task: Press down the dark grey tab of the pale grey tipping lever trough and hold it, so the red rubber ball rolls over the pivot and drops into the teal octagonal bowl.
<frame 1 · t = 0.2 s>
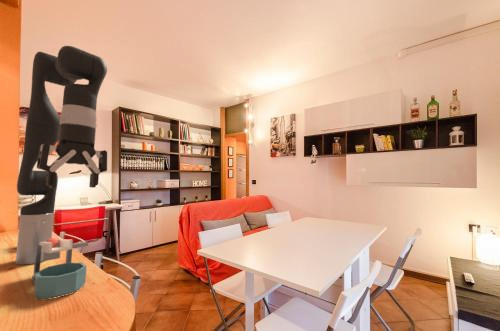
hand: (73, 187, 57), 28 cm above the table, tool pointing down, fingers open, 8 cm apart
teal octagonal bowl: (60, 289, 61), on the table
lever stand: (52, 278, 68), on the table
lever: (63, 249, 70), point 8 cm above the table, hinge at -10.0°, touching ball
ball: (51, 242, 72), point 10 cm above the table, touching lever
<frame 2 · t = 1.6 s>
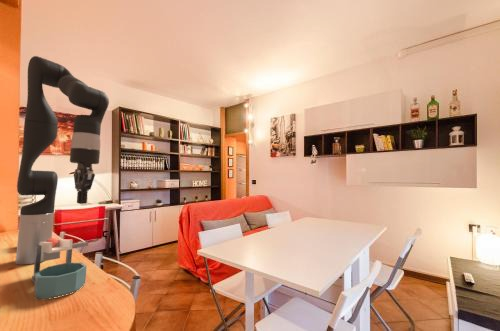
hand: (81, 203, 70), 23 cm above the table, tool pointing down, fingers closed
nothing on the table moved.
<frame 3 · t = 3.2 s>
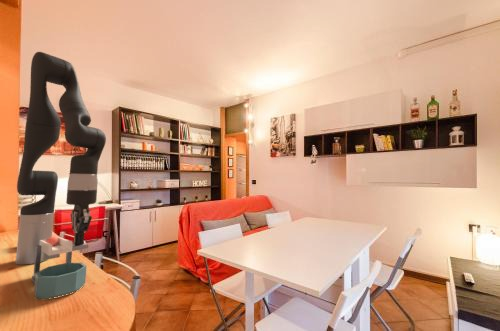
hand: (78, 244, 69), 10 cm above the table, tool pointing down, fingers closed
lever: (63, 249, 70), point 8 cm above the table, hinge at -5.1°, touching ball, gripper
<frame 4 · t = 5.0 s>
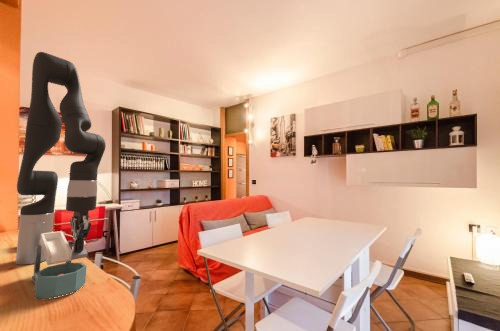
hand: (78, 251, 69), 8 cm above the table, tool pointing down, fingers closed
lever: (63, 249, 70), point 8 cm above the table, hinge at 14.5°, touching gripper
ball: (60, 279, 62), point 2 cm above the table, tilted 35°, touching teal octagonal bowl
everything else where it was.
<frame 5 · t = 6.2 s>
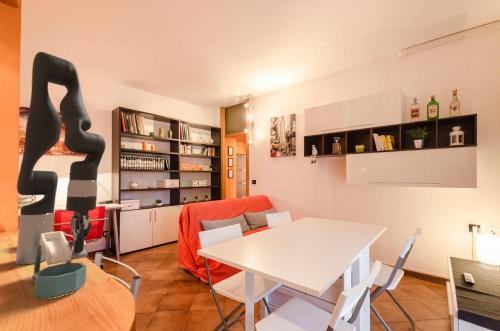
hand: (78, 251, 69), 8 cm above the table, tool pointing down, fingers closed
ball: (62, 282, 61), point 2 cm above the table, tilted 134°, touching teal octagonal bowl
everything else where it was.
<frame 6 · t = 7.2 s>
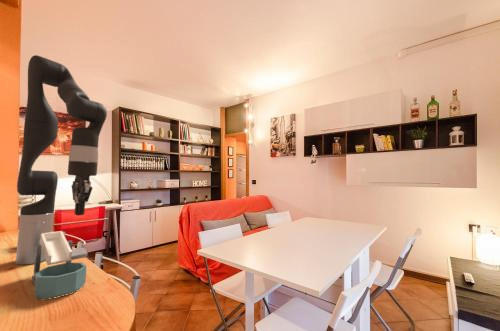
hand: (79, 214, 71), 19 cm above the table, tool pointing down, fingers closed
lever: (63, 249, 70), point 8 cm above the table, hinge at 14.5°
ball: (63, 284, 60), point 2 cm above the table, tilted 166°, touching teal octagonal bowl
everything else where it was.
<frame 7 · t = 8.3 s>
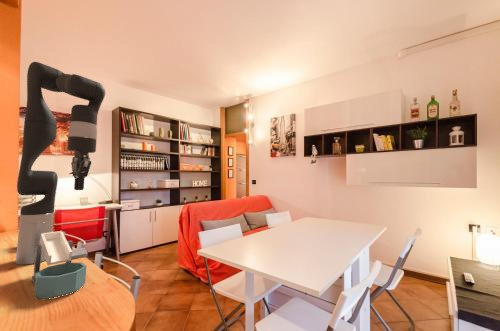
hand: (78, 189, 73), 27 cm above the table, tool pointing down, fingers closed
ball: (62, 283, 60), point 2 cm above the table, tilted 159°, touching teal octagonal bowl
everything else where it was.
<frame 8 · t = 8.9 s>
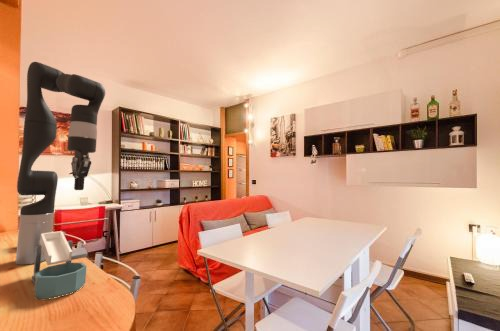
hand: (78, 189, 73), 27 cm above the table, tool pointing down, fingers closed
ball: (62, 282, 61), point 2 cm above the table, tilted 140°, touching teal octagonal bowl
everything else where it was.
at the end: ball inside the target area on the teal octagonal bowl (1.4 cm from its centre), point 2.3 cm above the teal octagonal bowl's base; ball moved 18.9 cm from its start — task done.
